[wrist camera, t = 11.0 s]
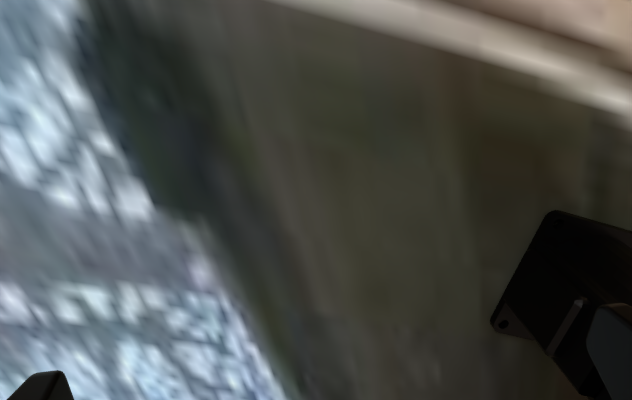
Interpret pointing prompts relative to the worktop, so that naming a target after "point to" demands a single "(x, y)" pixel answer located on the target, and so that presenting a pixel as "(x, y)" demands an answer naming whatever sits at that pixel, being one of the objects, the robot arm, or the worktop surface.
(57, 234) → the worktop surface
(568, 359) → the robot arm
